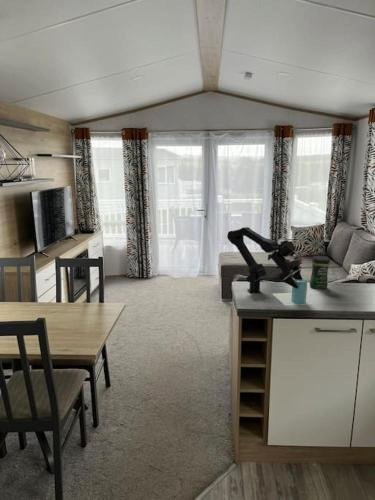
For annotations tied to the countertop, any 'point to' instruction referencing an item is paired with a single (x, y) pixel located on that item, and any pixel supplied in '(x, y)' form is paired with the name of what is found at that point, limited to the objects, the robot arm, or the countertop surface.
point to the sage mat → (287, 299)
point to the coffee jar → (319, 272)
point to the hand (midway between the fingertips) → (300, 285)
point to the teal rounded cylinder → (299, 292)
